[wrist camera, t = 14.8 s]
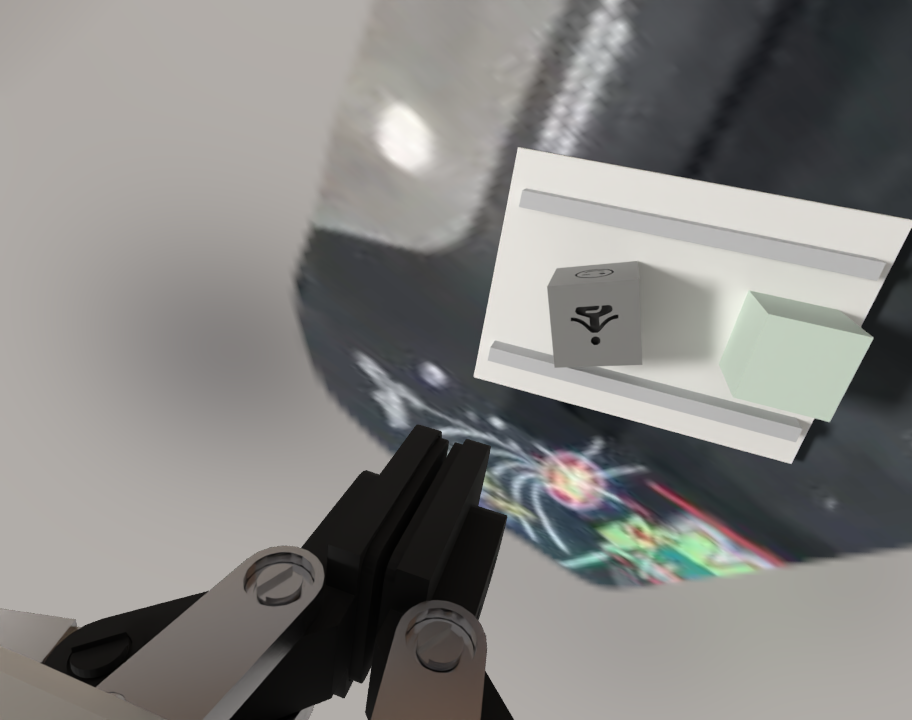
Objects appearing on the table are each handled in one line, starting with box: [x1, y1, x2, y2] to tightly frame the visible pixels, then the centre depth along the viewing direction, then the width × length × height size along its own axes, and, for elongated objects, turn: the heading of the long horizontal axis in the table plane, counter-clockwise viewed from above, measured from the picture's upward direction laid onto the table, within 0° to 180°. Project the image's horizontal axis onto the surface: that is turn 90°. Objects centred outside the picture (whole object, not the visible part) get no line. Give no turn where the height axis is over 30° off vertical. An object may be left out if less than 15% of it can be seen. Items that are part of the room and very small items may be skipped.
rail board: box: [474, 147, 912, 464], centre depth 33 cm, size 22×16×6 cm
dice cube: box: [547, 261, 642, 368], centre depth 33 cm, size 5×5×5 cm
